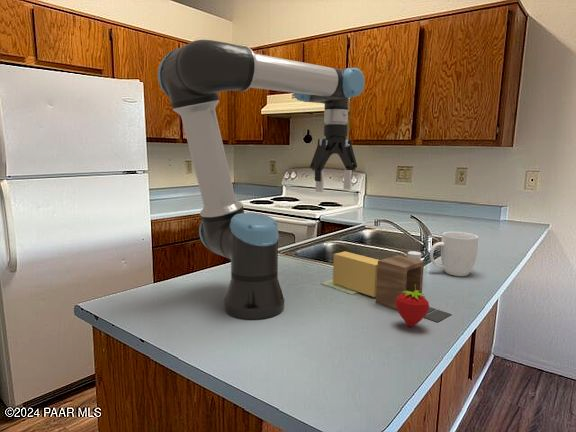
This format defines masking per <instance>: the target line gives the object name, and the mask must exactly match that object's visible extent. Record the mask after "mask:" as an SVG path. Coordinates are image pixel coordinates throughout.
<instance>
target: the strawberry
mask: <svg viewBox="0 0 576 432" xmlns="http://www.w3.org/2000/svg"><path fill="white" fill-rule="evenodd" d="M418 291H419V290H417V291H416V284H415V291H414V293H413V292H410V291H406V290H405V291H402V292H403V293H406V294H400V295H399V296H398V297H397V298H396V301H395V304H396V308H397V310H396V311H397V312H398V314H399V315H400V317H401V318H402V320H403V321H404V322H405V324H406V325H407V326H408V327H409V328H413V327H415V326H416V325H417V324H419V322H421V321H423V319H425V318H424V317H425V316H426V315H427V312H428V310H429V307H430V304H429V301H428V300H427V299H426V298H425V294H423V293H422V294H421V293H419V292H418Z"/></svg>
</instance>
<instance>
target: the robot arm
mask: <svg viewBox="0 0 576 432" xmlns="http://www.w3.org/2000/svg"><path fill="white" fill-rule="evenodd" d="M157 81H158V84H159V87H160V88H161V90H162V91H163V93H164V94H165V95H166V96H167V97H169V101H170V104H171V108H172V110H173V111H174V112H175V113H177V114H178V115H179V116H180V117H181V121H182V125H183V130H184V133H185V137H186V141H187V144H188V148H189V153H190V156H191V160H192V165H193V169H194V172H195V177H196V180H197V184H198V188H199V192H200V196H201V199H202V203H203V208H202V209H201V211H200V212H199V215H200V219H201V222H200V224H199V228H198V232H199V233H198V234H199V239H200V241H201V242H202V244H203V245H204V247H206V248H207V250H209V251H210V252H212V253H214V254H215V255H218V256H221V257H224V258H226V259H228V260H229V261H230V282H229V285H228V287H227V292H226V294H225V297H224V302H223V303H224V307H223V308H224V311H225V312H226V313H227V314H228V315H230V316H232V317H234V318H239V319H244V320H261V319H268V318H272V317H275V316H278V315H279V314H281V313H282V312H283V311H284V309H285V297H284V295H283V291H282V288H281V285H280V282H279V279H278V278H279V277H278V273H279V272H278V269H279V268H278V267H279V266H278V265H279V262H278V261H279V237H280V235H279V228H278V227H279V226H278V223H277V221H276V219H275V218H273V217H271V216H269V215H266V214H263V213H262V214H261V213H260V214H259V213H255V212H245V209H244V205H243V203H242V202H241V201H239V200H237V199H236V195H235V191H234V187H233V182H232V178H231V174H230V170H229V164H228V161H227V157H226V152H225V146H224V143H223V138H222V134H221V129H220V126H219V122H218V116H217V112H216V107H217V106H218V104H219V103H220V98H219V94H218V93H222V92H229V91H239V92H246V91H248V90H249V89H250V88H252V89H261V90H268V91H270V90H271V91H277V92H284V93H285V92H287V93H292V94H293V96H294V98H295V100H297V101H300V102H303V103H315V104H316V103H317V104H324V111H323V112H324V115H323V117H324V118H323V123H324V126H323V135H324V137H325V138H319V139H317V146H316V149H315V151H314V155H313V157H312V159H311V162H310V165H309V168H310V169H311V170H312V171H313V172H314V182H315V192H319V193H324V187H325V186H324V185H325V184H324V180H325V179H324V177H325V171H323V169H324V168H325V166H326V164H327V162H328V160H329V159H330V157H331V156H332V155H333V154H337V156H338V157H339V158H340V160H341V162H342V163H343V166H344V168H345V169H343V190H349V191H351V190H352V180H353V171H355V170H356V168H357V167H358V163H357V160H356V157H355V151H354V149H353V141H352V139H346V137H347V136H348V131H349V130H348V127H349V126H348V125H347V124H348V122H349V119H348V118H349V102H350V101H349V100H350V99H351V98H355V97H358V96H360V95H361V94H362V93H363V91H364V89H365V87H366V86H365V83H366V81H365V76H364V73H363V72H362V71H361V69H359V68H357V67H347V68H343V69H341V68H336V67H328V66H324V65H319V64H314V63H313V64H312V63H308V62H303V61H297V60H292V59H286V58H281V57H276V56H270V55H267V54H266V55H265V54H261V53H254V51H253V49H252V48H250V47H248V46H244V45H239V44H235V43H234V44H233V43H230V42H229V43H228V42H224V41H218V40H212V39H196V40H193V41H190V42H188V43H187V44H185V45H182V46H180V47H178V48H176V49H173V50H171V51H170V52H168V54H166V55H165V56H164V58H162V60H161V62H160V64H159V65H158V69H157Z"/></svg>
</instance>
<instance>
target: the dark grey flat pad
mask: <svg viewBox="0 0 576 432" xmlns="http://www.w3.org/2000/svg"><path fill="white" fill-rule="evenodd" d="M451 316H452V313H449V312H446V311H443V310H440V309H436V308H434V307H431V306H429V310H428V312H427V314H426V316H425V317H424V318H423V319H427V320H428V321H432V322H435V323H439V322H442V321H444V320H446V319H447V318H448V317H451Z"/></svg>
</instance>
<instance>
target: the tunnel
mask: <svg viewBox="0 0 576 432" xmlns="http://www.w3.org/2000/svg"><path fill="white" fill-rule="evenodd" d="M378 260H379V261H378V267H377V287H376V297H375V304H378V305H381V306H384V307H386V308H389V309H393V310H395V311H397V308H396V304H395V301H396V298H397V297H398V296H399V295H400V294H406V293H403V292H402V291H405V290H406V291H410V292H413V293H414V291H415V284H416V291H417V290H419V291H418V292H419V293H421V294H423V293H422V292H423V282H424V281H423V280H424V267H425V266H424V265H425V261H424V260H422V261H420V260H416V259H412V258H408V256H402V255H398V254H397V255H393V256H388V257H386V258H383V259H378Z"/></svg>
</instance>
